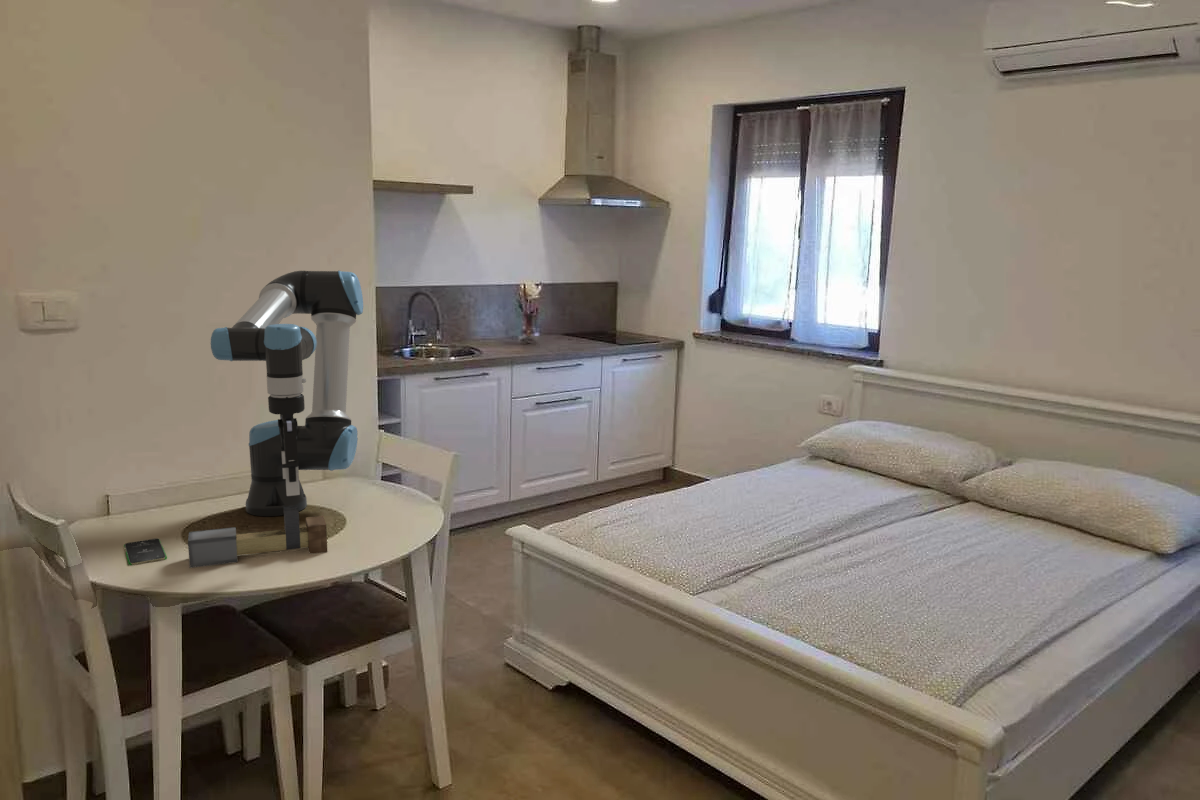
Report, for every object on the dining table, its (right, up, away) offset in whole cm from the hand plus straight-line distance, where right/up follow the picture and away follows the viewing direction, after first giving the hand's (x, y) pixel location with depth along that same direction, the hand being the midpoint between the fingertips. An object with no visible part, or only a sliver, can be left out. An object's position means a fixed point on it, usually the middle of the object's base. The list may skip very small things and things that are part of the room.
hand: (291, 486), depth 194 cm
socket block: (+4, -15, +4) cm, 16 cm away
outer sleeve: (-16, -16, -4) cm, 23 cm away
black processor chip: (-33, -15, 0) cm, 36 cm away
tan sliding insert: (-4, -14, +1) cm, 15 cm away
